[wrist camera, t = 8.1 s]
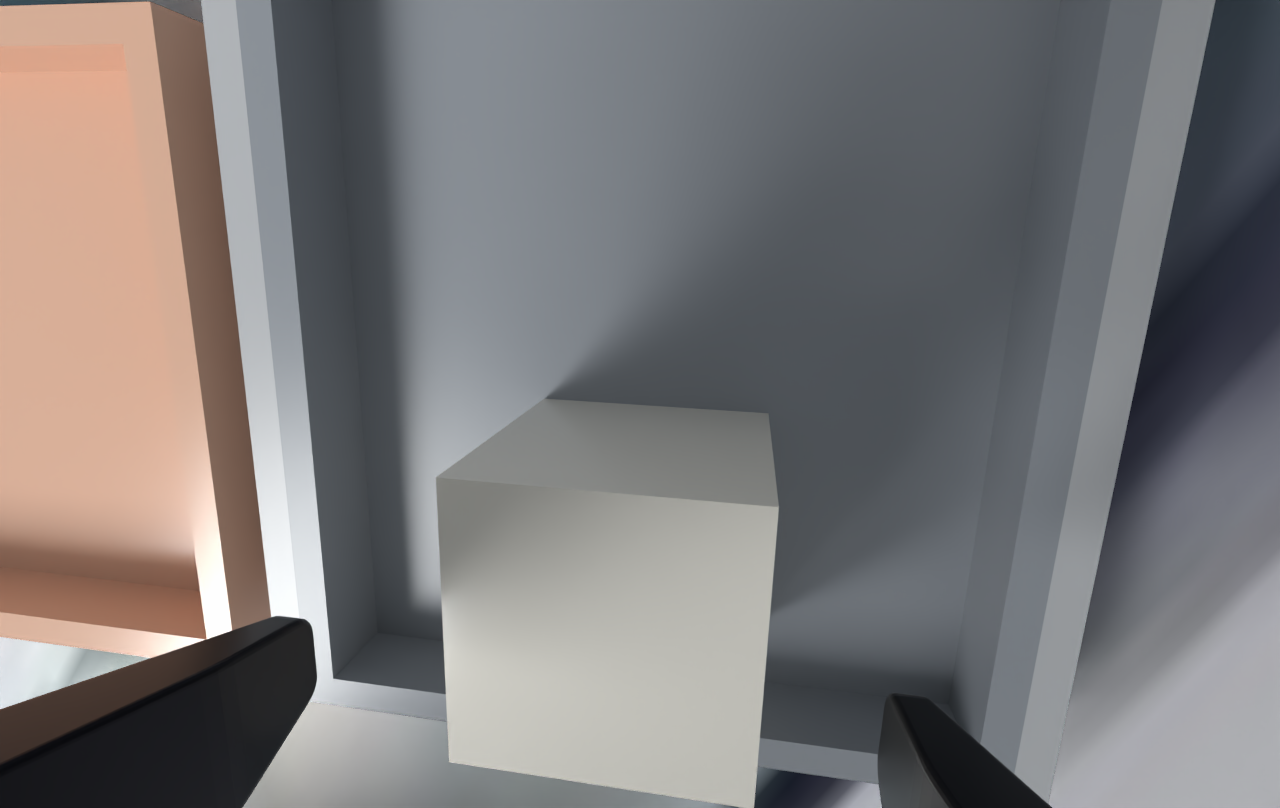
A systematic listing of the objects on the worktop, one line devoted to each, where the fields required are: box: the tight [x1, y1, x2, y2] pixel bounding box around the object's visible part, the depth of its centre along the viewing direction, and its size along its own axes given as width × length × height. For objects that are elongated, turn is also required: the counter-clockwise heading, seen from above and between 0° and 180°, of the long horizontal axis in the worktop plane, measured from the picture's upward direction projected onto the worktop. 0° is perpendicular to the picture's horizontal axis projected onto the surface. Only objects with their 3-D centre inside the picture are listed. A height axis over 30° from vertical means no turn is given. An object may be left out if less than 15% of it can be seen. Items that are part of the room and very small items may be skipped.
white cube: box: [436, 399, 779, 808], centre depth 11 cm, size 4×4×4 cm
